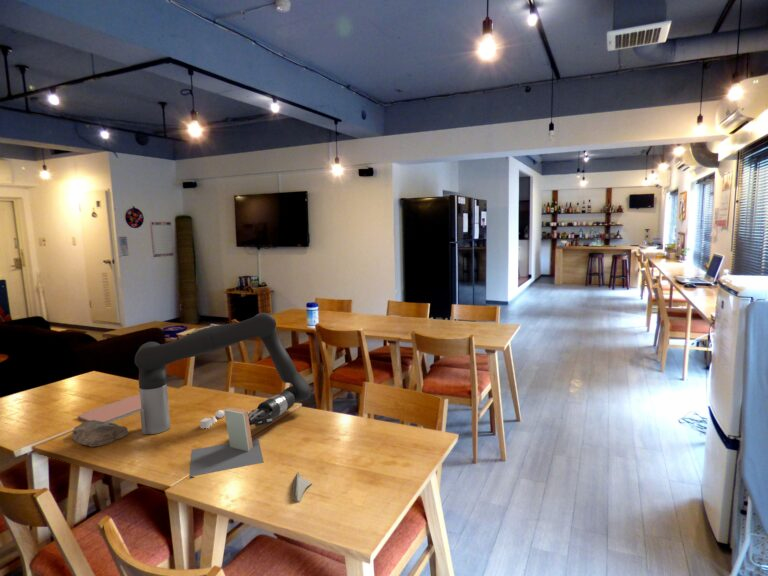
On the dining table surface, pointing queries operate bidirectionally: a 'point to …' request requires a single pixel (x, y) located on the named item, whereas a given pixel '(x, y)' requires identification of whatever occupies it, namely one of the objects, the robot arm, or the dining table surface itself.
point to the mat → (223, 458)
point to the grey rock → (98, 433)
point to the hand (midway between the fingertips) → (240, 426)
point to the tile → (238, 428)
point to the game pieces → (208, 421)
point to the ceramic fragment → (299, 487)
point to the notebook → (114, 410)
